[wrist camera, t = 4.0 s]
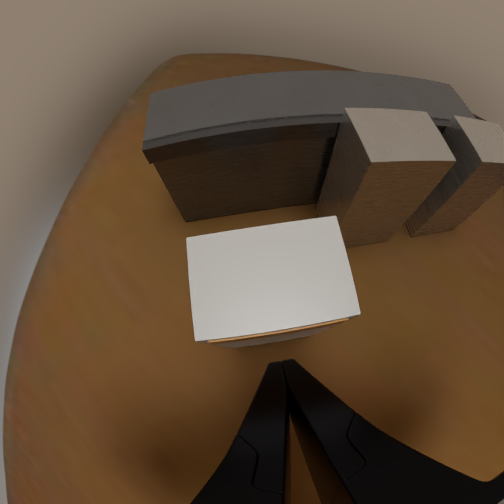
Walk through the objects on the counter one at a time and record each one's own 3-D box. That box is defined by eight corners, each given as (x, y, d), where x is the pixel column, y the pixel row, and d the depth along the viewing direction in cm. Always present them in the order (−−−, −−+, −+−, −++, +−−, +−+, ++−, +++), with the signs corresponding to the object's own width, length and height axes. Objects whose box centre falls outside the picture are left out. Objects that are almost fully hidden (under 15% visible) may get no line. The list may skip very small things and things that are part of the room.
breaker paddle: (311, 336, 16) (361, 315, 7) (233, 348, 16) (195, 342, 7) (301, 285, 17) (335, 214, 8) (226, 297, 17) (186, 236, 8)
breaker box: (453, 229, 18) (523, 164, 9) (188, 271, 18) (126, 197, 9) (419, 152, 20) (461, 76, 12) (184, 175, 20) (145, 79, 12)
